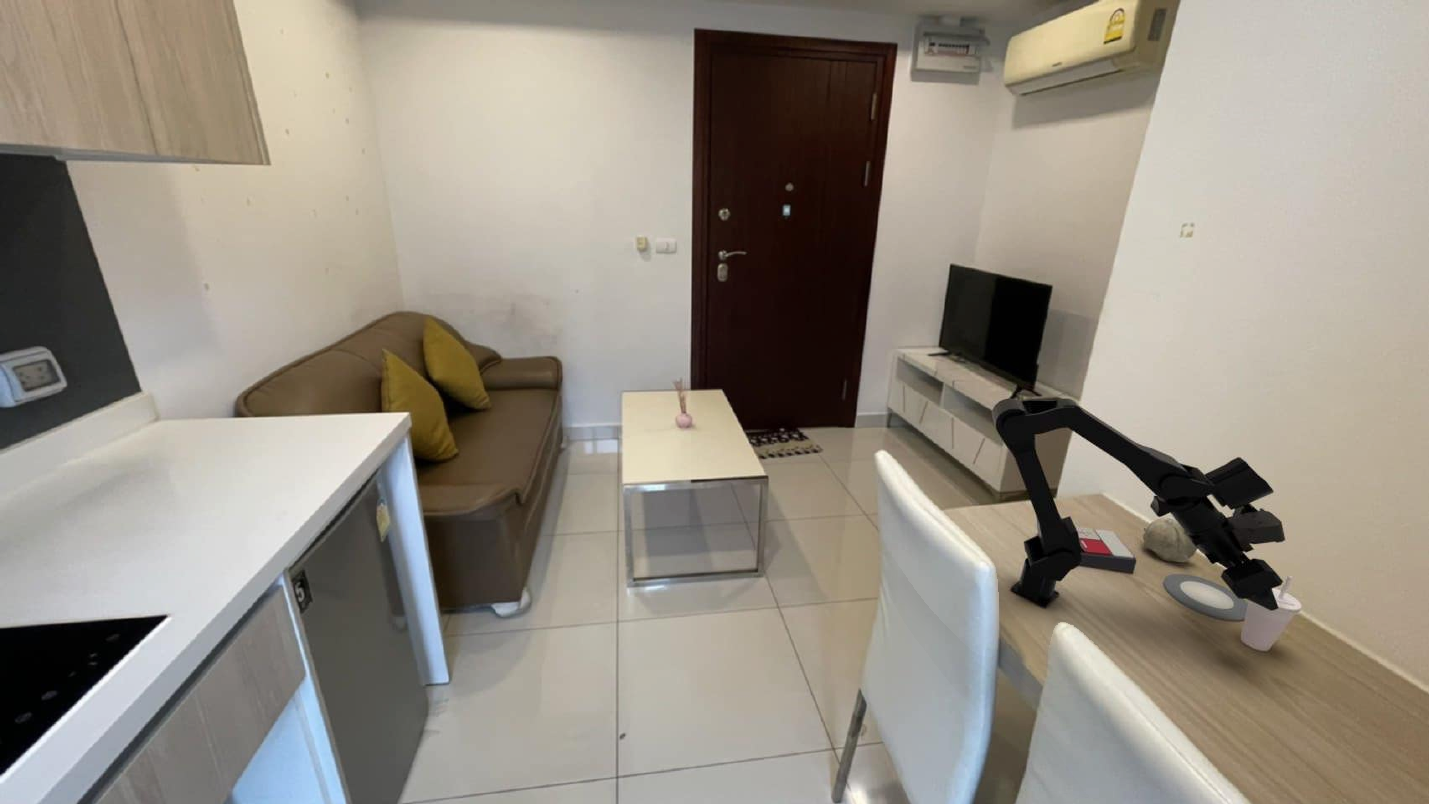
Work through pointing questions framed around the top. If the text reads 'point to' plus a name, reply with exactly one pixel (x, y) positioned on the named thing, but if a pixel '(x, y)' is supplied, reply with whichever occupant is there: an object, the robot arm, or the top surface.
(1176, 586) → the coaster
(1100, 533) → the calculator
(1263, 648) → the smoothie
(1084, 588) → the top surface
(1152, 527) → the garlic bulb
